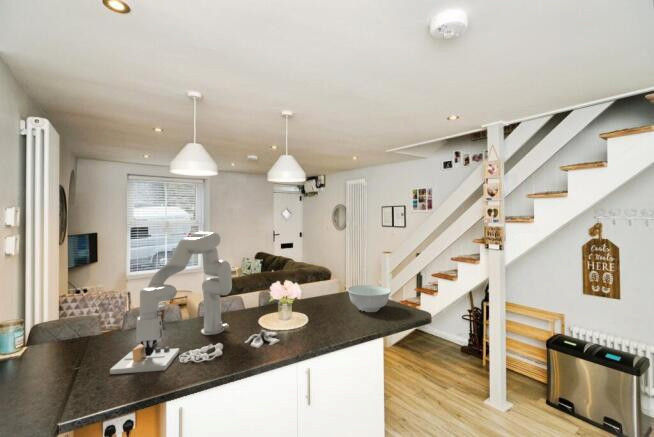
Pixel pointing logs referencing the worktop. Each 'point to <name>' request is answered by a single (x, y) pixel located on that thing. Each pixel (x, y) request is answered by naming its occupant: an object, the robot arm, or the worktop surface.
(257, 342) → the cloth
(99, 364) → the worktop surface
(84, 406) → the worktop surface
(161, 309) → the disposable coffee cup
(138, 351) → the block
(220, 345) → the tangled rod sculpture
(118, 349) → the worktop surface
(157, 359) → the console
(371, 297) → the bowl
